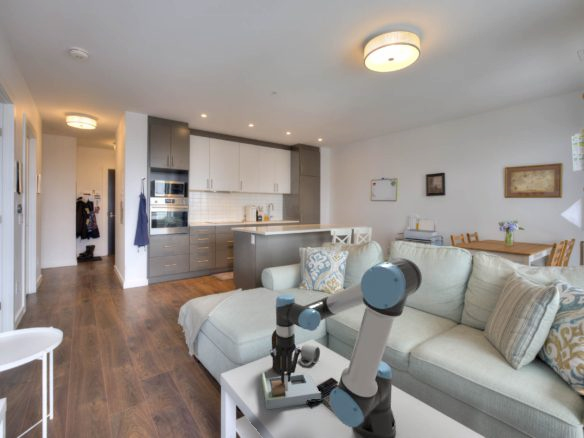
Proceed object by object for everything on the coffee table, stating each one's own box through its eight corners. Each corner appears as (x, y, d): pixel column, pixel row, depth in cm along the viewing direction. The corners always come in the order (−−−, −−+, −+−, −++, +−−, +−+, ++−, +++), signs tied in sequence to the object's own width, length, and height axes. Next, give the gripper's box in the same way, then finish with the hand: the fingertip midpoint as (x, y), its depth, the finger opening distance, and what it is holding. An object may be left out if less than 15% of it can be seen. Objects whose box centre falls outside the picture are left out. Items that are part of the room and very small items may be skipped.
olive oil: (274, 377, 131) (274, 324, 129) (269, 364, 141) (269, 315, 139) (296, 372, 134) (296, 321, 133) (289, 361, 144) (289, 313, 143)
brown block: (285, 397, 114) (285, 387, 113) (272, 398, 113) (272, 389, 112) (283, 389, 118) (283, 379, 118) (271, 390, 117) (271, 381, 117)
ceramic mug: (306, 354, 151) (306, 340, 150) (320, 358, 146) (320, 344, 146) (296, 364, 142) (296, 349, 141) (310, 369, 137) (310, 354, 137)
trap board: (320, 401, 115) (320, 388, 114) (266, 409, 110) (266, 396, 110) (309, 377, 130) (309, 366, 130) (262, 383, 126) (262, 372, 125)
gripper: (298, 327, 120) (298, 381, 121) (268, 330, 117) (268, 385, 118) (303, 336, 112) (303, 392, 114) (270, 339, 110) (271, 397, 111)
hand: (285, 389), depth 116 cm, fingers closed
